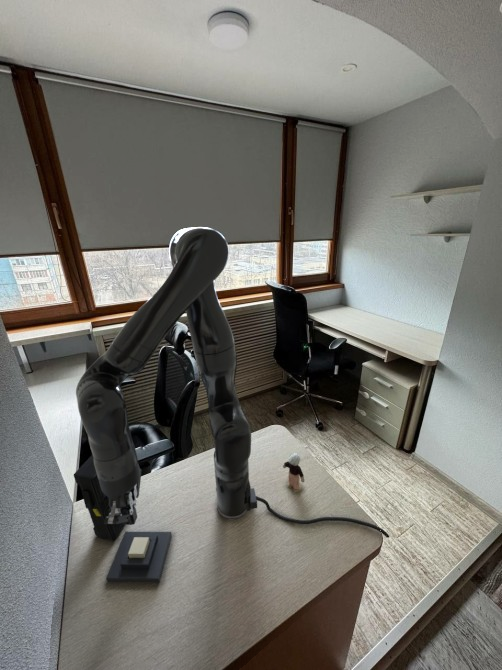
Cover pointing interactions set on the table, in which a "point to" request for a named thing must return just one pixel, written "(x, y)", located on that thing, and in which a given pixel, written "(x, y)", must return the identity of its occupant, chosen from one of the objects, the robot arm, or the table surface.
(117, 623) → the table surface
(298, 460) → the grandmother figurine
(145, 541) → the key
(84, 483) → the portable radio
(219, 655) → the table surface
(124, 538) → the push button
